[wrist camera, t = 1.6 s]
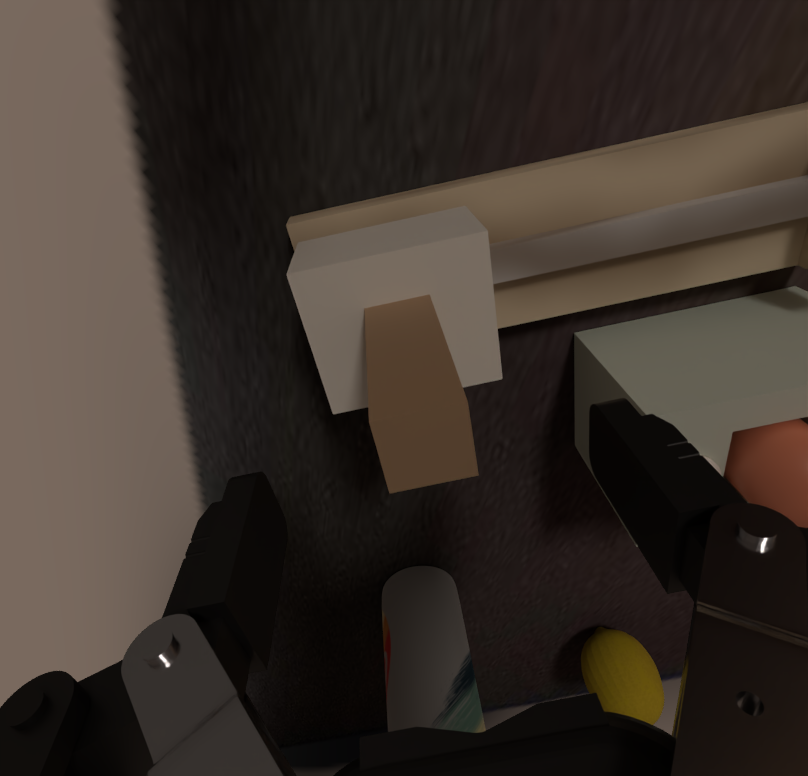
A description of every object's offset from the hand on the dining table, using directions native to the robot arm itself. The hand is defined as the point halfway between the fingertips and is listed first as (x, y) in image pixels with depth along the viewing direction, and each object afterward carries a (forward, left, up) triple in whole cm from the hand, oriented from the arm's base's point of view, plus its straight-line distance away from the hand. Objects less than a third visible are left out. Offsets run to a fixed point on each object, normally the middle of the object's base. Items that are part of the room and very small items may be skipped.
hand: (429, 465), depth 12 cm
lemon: (+34, +11, -15) cm, 39 cm away
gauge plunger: (+9, +15, -9) cm, 20 cm away
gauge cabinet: (+9, +15, -14) cm, 23 cm away
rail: (0, +9, -14) cm, 17 cm away
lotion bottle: (+24, -3, -14) cm, 29 cm away
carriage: (0, 0, -11) cm, 11 cm away
